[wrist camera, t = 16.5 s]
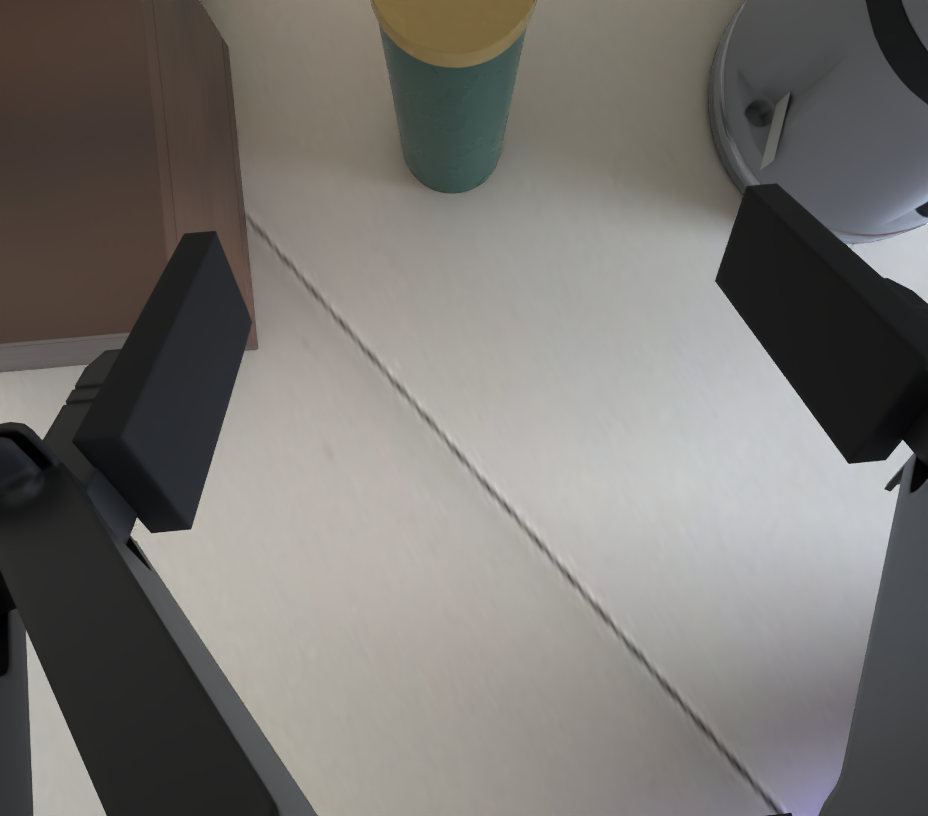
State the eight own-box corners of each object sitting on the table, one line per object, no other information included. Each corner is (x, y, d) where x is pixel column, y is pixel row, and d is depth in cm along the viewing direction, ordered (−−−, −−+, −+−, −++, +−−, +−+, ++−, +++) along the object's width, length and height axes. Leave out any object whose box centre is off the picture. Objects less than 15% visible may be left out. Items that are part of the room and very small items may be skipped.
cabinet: (-42, 66, 28) (-267, -85, 19) (228, 46, 28) (129, -112, 20) (-9, 373, 28) (-215, 362, 20) (258, 350, 29) (174, 328, 20)
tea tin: (428, 72, 29) (413, -161, 17) (521, 121, 29) (573, -75, 17) (381, 166, 29) (332, 0, 17) (474, 214, 29) (492, 85, 17)
